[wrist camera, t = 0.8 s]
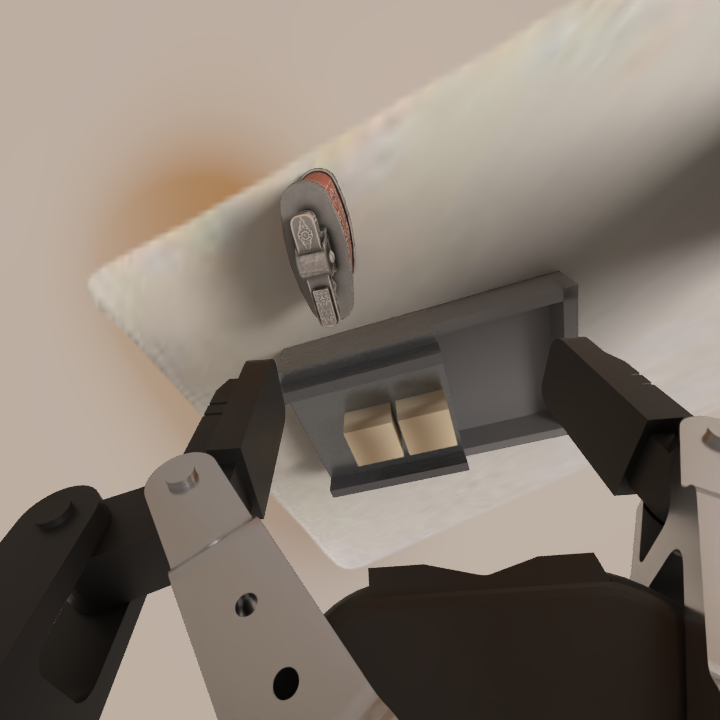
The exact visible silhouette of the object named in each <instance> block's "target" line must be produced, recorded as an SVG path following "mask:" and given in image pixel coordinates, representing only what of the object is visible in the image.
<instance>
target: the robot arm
mask: <svg viewBox="0 0 720 720" xmlns="http://www.w3.org/2000/svg"><path fill="white" fill-rule="evenodd" d="M542 396H543V400H544V402H545V404H546V406H547V407H548V408H549V410H550V411H551V412H552V414H553V415H554V416H555V418H556V419H557V420H558V422H559V423H560V424H561V426H562V427H563V428H564V430H565V431H566V432H567V434H568V435H569V436H570V438H571V439H572V440H573V442H574V443H575V444H576V446H577V447H578V448H579V450H580V451H581V452H582V454H583V455H584V456H585V458H586V459H587V460H588V462H589V463H590V464H591V466H592V467H593V468H594V470H595V471H596V472H597V473H598V475H599V476H600V478H601V479H602V480H603V481H604V483H605V484H606V485H607V487H608V488H609V489H610V491H611V492H612V493H613V495H614V496H616V495H630V494H637V495H638V496H639V497H640V498H641V501H640V503H639V505H638V507H637V513H636V524H635V535H634V547H633V559H632V569H631V575H630V579H627V578H625V577H621V576H618V575H614V574H611V573H606V572H605V571H604V569H603V567H602V566H601V564H600V562H599V561H598V559H597V557H596V556H595V554H594V553H583V554H567V555H553V556H538V557H535V558H533V559H530V560H528V561H525V562H523V563H520V564H517V565H514V566H512V567H509V568H506V569H504V570H501V571H498V572H496V573H493V574H490V575H477V574H471V573H466V572H461V571H455V570H450V569H445V568H440V567H434V566H429V565H424V564H423V565H410V566H394V567H380V568H368V570H369V586H368V587H365V588H363V589H360V590H357V591H356V592H354V593H352V594H350V595H348V596H346V597H345V598H343V599H342V600H340V601H339V602H338V603H336V604H335V605H333V606H332V607H331V608H330V609H329V610H328V611H327V612H326V613H325V614H323V613H322V612H321V610H320V609H319V607H318V606H317V604H316V603H315V601H314V600H313V598H312V597H311V595H310V594H309V592H308V591H307V589H306V588H305V586H304V585H303V583H302V582H301V580H300V578H299V577H298V575H297V574H296V572H295V571H294V569H293V568H292V566H291V565H290V563H289V562H288V560H287V559H286V558H285V556H284V554H283V553H282V551H281V550H280V548H279V547H278V545H277V544H276V542H275V541H274V539H273V538H272V536H271V535H270V533H269V532H268V530H267V529H266V527H265V526H264V524H263V523H262V521H261V520H260V519H264V515H265V510H266V506H267V501H268V497H269V492H270V488H271V483H272V478H273V474H274V469H275V465H276V460H277V455H278V451H279V446H280V442H281V437H282V432H283V428H284V423H285V404H284V399H283V394H282V390H281V385H280V381H279V376H278V372H277V367H276V364H275V361H274V360H273V359H266V360H253V361H246V363H245V365H244V367H243V369H242V371H241V373H240V376H239V378H238V379H229V380H228V381H227V382H226V383H224V384H223V385H222V386H221V387H220V388H219V389H218V390H216V392H215V394H214V396H213V398H212V400H211V402H210V406H208V408H207V410H206V411H205V413H204V417H202V419H201V421H200V423H199V425H198V427H197V429H196V431H195V433H194V435H193V437H192V439H191V440H190V442H189V444H188V447H187V448H186V450H185V452H184V454H183V455H180V456H177V457H175V458H173V459H171V460H169V461H167V462H165V463H164V464H163V465H161V466H160V467H159V468H158V469H156V470H155V471H154V472H153V473H152V475H151V476H150V477H149V479H148V481H147V483H146V485H145V487H142V488H139V489H136V490H133V491H130V492H126V493H123V494H120V495H117V496H114V497H111V498H107V499H105V500H103V499H102V498H101V496H100V495H99V493H98V492H97V490H96V489H94V488H93V487H90V486H84V485H82V486H73V487H69V488H66V489H63V490H60V491H57V492H55V493H53V494H51V495H49V496H47V497H46V498H44V499H42V500H41V501H39V502H38V503H36V504H35V505H34V506H32V507H31V508H30V509H29V510H27V511H26V513H24V514H23V515H22V516H21V518H20V519H19V520H18V521H17V522H16V523H15V525H14V526H13V527H12V528H11V530H10V531H9V532H8V533H7V535H6V536H5V537H4V538H3V540H2V541H1V542H0V720H99V718H100V716H101V713H102V711H103V708H104V706H105V703H106V700H107V698H108V695H109V692H110V690H111V687H112V684H113V682H114V679H115V677H116V674H117V671H118V669H119V666H120V663H121V661H122V659H123V656H124V653H125V651H126V648H127V645H128V643H129V640H130V637H131V635H132V632H133V630H134V627H135V625H136V622H137V619H138V617H139V614H140V611H141V609H142V606H143V603H144V601H145V598H146V596H147V594H149V593H152V592H154V591H157V590H160V589H162V588H165V587H167V586H170V585H171V586H172V589H173V592H174V595H175V598H176V600H177V603H178V606H179V609H180V612H181V615H182V618H183V620H184V623H185V626H186V629H187V632H188V635H189V638H190V641H191V644H192V646H193V649H194V652H195V655H196V658H197V661H198V664H199V666H200V670H201V672H202V675H203V678H204V681H205V684H206V687H207V690H208V693H209V695H210V698H211V701H212V704H213V707H214V710H215V713H216V716H217V718H218V720H720V419H718V418H713V417H706V416H693V415H691V414H690V413H689V412H688V411H686V410H685V409H684V408H683V407H681V406H680V405H679V404H678V403H676V402H675V401H674V400H673V399H671V398H670V397H669V396H668V395H666V394H665V393H664V392H663V391H661V390H660V389H659V388H658V387H656V386H655V385H651V382H650V381H649V380H648V379H646V378H645V377H644V376H642V375H639V372H637V371H636V370H635V369H634V368H632V367H631V366H630V365H629V364H627V363H626V362H625V361H623V360H621V359H618V358H616V357H614V356H612V355H610V354H608V353H606V352H604V351H603V350H601V349H600V348H599V347H598V346H597V345H595V344H594V343H593V342H592V341H590V340H589V339H588V338H586V337H574V338H561V339H556V340H554V341H553V343H552V344H551V347H550V351H549V356H548V360H547V364H546V368H545V373H544V377H543V381H542ZM65 602H66V603H65ZM59 613H60V614H59ZM54 622H55V623H54ZM49 631H50V632H49Z"/></svg>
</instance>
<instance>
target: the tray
mask: <svg viewBox="0 0 720 720" xmlns="http://www.w3.org/2000/svg"><path fill="white" fill-rule="evenodd" d="M427 310H428V313H429V315H430V318H431V321H432V324H433V327H434V329H435V333H436V337H437V341H438V344H439V347H440V350H441V353H442V357H443V362H444V364H443V366H444V370H445V375H446V379H447V383H448V387H449V391H450V395H451V400H452V404H453V408H454V412H455V416H456V420H457V425H458V429H459V433H460V437H461V441H462V446H463V450H464V453H465V456H468V455H473V454H478V453H483V452H487V451H492V450H497V449H502V448H506V447H511V446H516V445H521V444H525V443H530V442H535V441H540V440H544V439H549V438H554V437H559V436H563V435H568V434H567V432H566V431H565V430H564V428H563V427H562V426H561V424H560V423H559V422H558V420H557V419H556V418H555V416H554V415H553V414H552V412H551V411H550V410H549V408H548V407H547V406H546V404H545V402H544V400H543V396H542V381H543V377H544V373H545V368H546V364H547V360H548V356H549V351H550V347H551V344H552V343H553V341H554V340H556V339H561V338H574V337H578V285H577V284H576V283H575V282H573V281H572V280H571V279H569V278H568V277H566V276H565V275H564V274H562V273H561V272H560V271H556V272H553V273H549V274H546V275H542V276H539V277H535V278H532V279H528V280H525V281H521V282H518V283H514V284H511V285H507V286H504V287H500V288H497V289H493V290H490V291H486V292H483V293H479V294H476V295H472V296H469V297H465V298H462V299H458V300H455V301H451V302H448V303H444V304H441V305H437V306H434V307H430V308H427Z"/></svg>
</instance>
